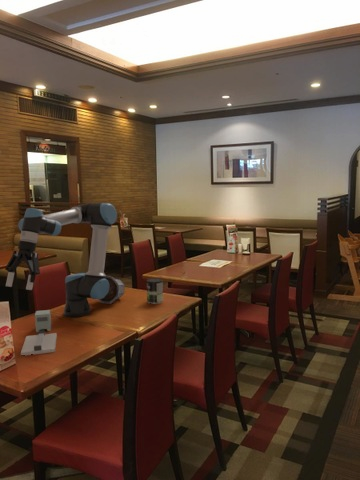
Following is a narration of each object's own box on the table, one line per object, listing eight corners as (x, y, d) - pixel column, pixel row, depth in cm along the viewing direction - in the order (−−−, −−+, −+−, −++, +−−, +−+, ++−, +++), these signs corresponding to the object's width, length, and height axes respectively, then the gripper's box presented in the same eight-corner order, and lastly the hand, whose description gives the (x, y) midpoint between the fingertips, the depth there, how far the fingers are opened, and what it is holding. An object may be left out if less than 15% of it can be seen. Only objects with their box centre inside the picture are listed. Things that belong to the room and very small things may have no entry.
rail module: (51, 326, 205) (50, 309, 204) (50, 330, 198) (49, 313, 197) (37, 327, 204) (36, 311, 202) (35, 332, 197) (34, 315, 195)
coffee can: (149, 304, 241) (148, 282, 239) (145, 300, 251) (144, 278, 249) (165, 302, 244) (164, 281, 242) (161, 298, 254) (160, 277, 252)
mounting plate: (56, 335, 191) (56, 329, 191) (54, 351, 172) (54, 344, 172) (26, 339, 188) (26, 332, 187) (21, 355, 169) (20, 348, 168)
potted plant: (105, 274, 261) (80, 273, 233) (129, 277, 255) (107, 276, 227) (102, 301, 259) (77, 302, 231) (126, 304, 254) (103, 306, 225)
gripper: (3, 238, 180) (-7, 284, 177) (40, 241, 168) (30, 290, 165) (16, 242, 187) (7, 286, 184) (53, 244, 175) (44, 291, 171)
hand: (18, 288), depth 174 cm, fingers open, 13 cm apart
